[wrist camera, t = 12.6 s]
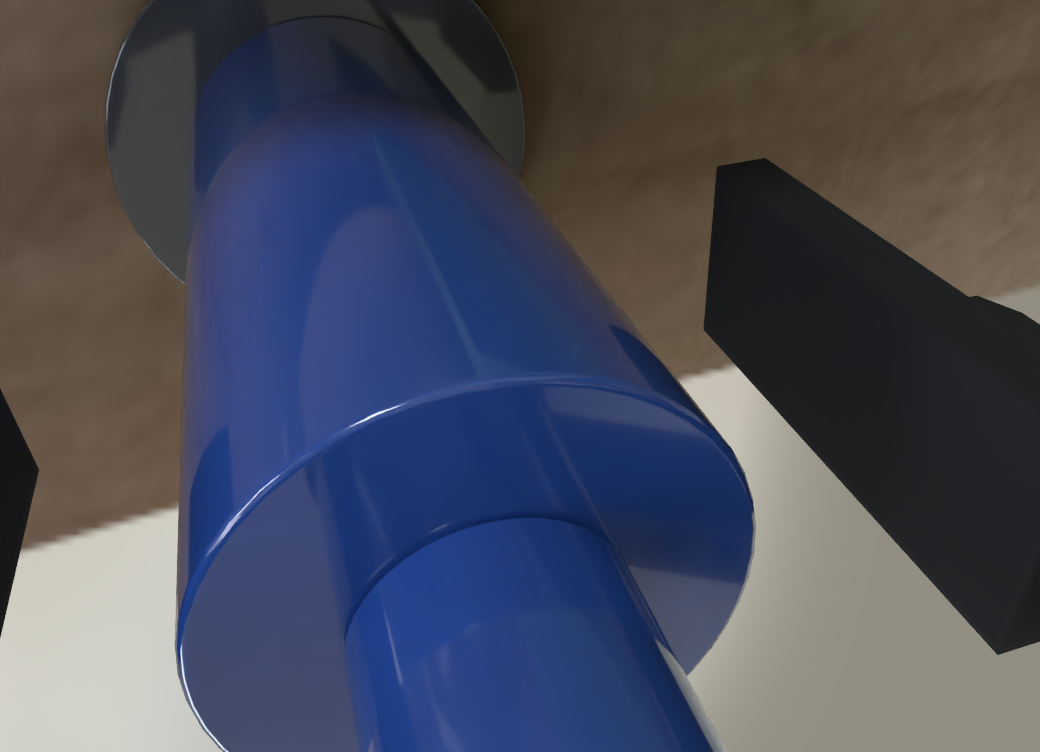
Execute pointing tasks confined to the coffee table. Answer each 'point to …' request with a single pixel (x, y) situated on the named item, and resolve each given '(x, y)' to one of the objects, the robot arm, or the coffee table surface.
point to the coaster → (230, 22)
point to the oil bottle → (424, 438)
